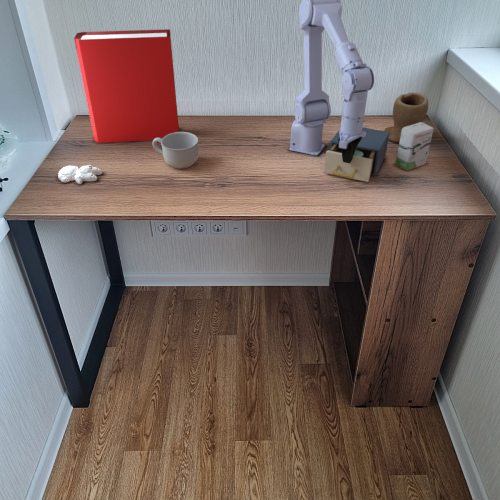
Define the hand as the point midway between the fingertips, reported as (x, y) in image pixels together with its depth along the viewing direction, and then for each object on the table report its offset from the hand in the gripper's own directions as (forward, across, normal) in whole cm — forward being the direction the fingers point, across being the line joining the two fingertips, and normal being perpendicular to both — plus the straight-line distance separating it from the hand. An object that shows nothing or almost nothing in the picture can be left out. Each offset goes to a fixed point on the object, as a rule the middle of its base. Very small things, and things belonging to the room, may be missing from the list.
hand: (347, 161), depth 141 cm
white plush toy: (+6, -30, +70) cm, 76 cm away
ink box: (+6, +18, -15) cm, 25 cm away
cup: (+4, +6, 0) cm, 8 cm away
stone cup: (+6, +35, -11) cm, 38 cm away
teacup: (+6, -11, +49) cm, 51 cm away
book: (+6, 0, +71) cm, 71 cm away
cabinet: (+6, +13, 0) cm, 15 cm away
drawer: (+5, +5, 0) cm, 7 cm away
